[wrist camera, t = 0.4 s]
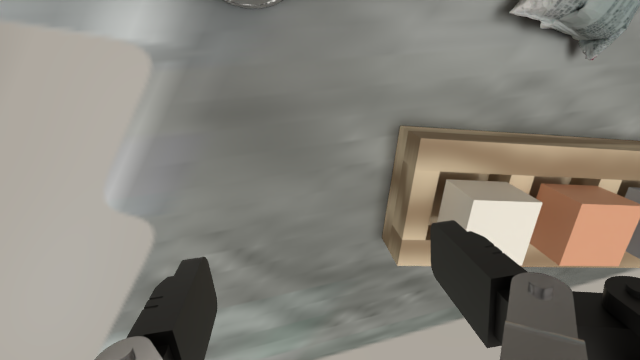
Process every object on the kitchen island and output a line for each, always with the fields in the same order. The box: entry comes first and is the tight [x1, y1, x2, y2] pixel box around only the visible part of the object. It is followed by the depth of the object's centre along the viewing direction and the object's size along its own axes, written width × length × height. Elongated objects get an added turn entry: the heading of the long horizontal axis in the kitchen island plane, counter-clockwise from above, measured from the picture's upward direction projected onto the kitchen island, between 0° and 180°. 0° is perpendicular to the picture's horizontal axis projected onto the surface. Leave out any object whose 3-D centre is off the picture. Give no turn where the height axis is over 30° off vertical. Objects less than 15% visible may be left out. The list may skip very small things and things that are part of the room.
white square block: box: [437, 179, 543, 266], centre depth 26 cm, size 5×5×4 cm
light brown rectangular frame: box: [382, 126, 640, 268], centre depth 31 cm, size 11×26×5 cm, turn 85°
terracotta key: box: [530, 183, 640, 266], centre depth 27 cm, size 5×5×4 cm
